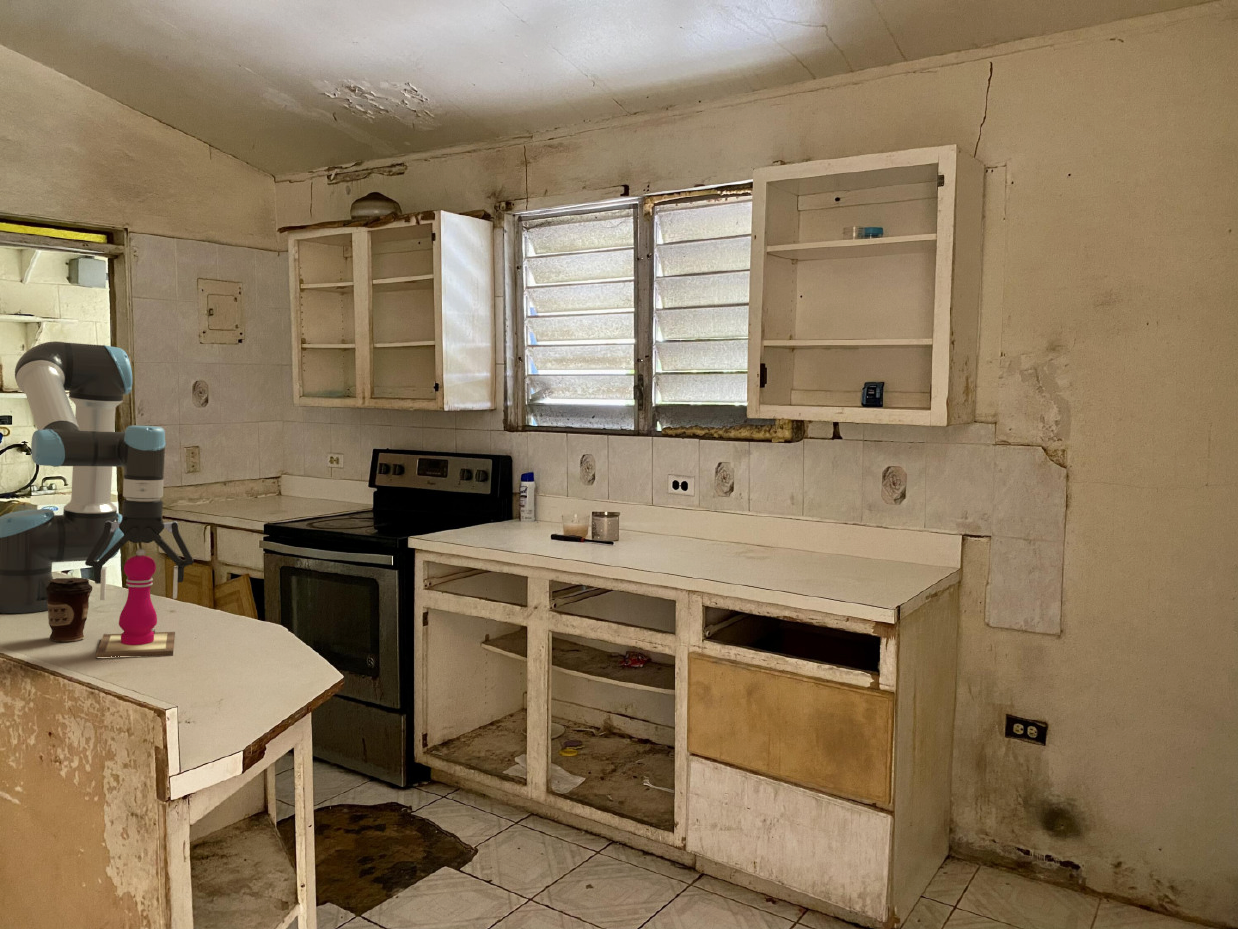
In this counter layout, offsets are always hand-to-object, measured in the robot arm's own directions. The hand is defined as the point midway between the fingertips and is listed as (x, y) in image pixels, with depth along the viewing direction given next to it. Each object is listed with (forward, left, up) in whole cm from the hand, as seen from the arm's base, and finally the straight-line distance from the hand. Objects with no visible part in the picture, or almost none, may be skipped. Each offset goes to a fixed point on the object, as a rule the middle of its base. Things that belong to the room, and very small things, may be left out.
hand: (139, 598), depth 193 cm
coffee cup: (-9, -14, -11) cm, 20 cm away
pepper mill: (0, 0, -10) cm, 10 cm away
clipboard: (0, 0, -10) cm, 10 cm away
